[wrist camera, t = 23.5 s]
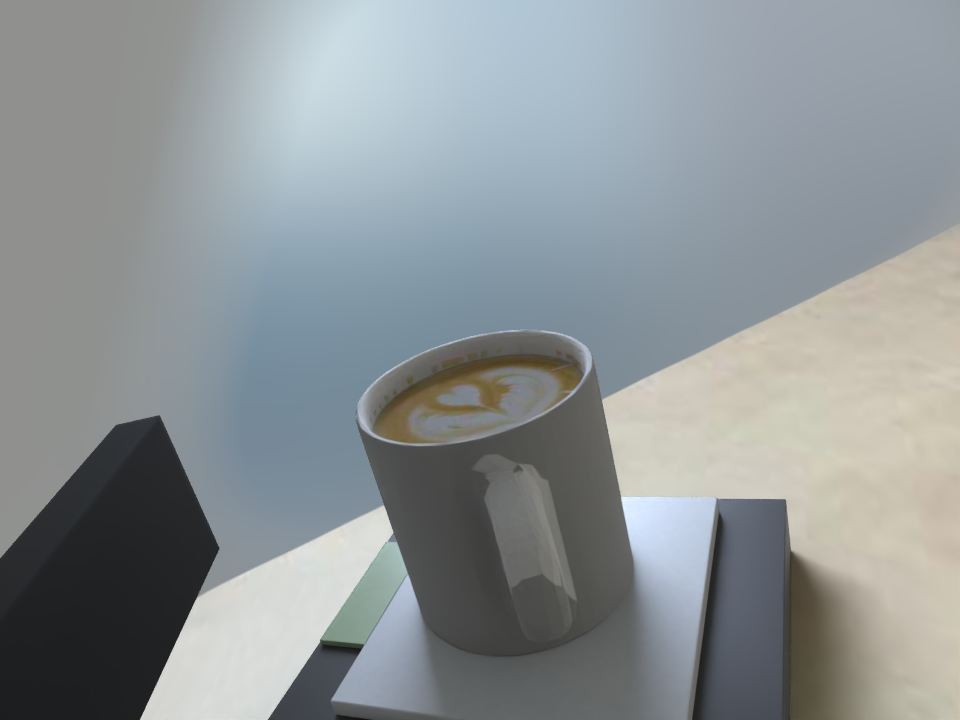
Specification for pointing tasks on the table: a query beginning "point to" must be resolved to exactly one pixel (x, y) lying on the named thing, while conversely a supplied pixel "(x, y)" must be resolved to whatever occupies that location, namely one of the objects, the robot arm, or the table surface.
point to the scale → (585, 636)
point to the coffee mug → (501, 489)
